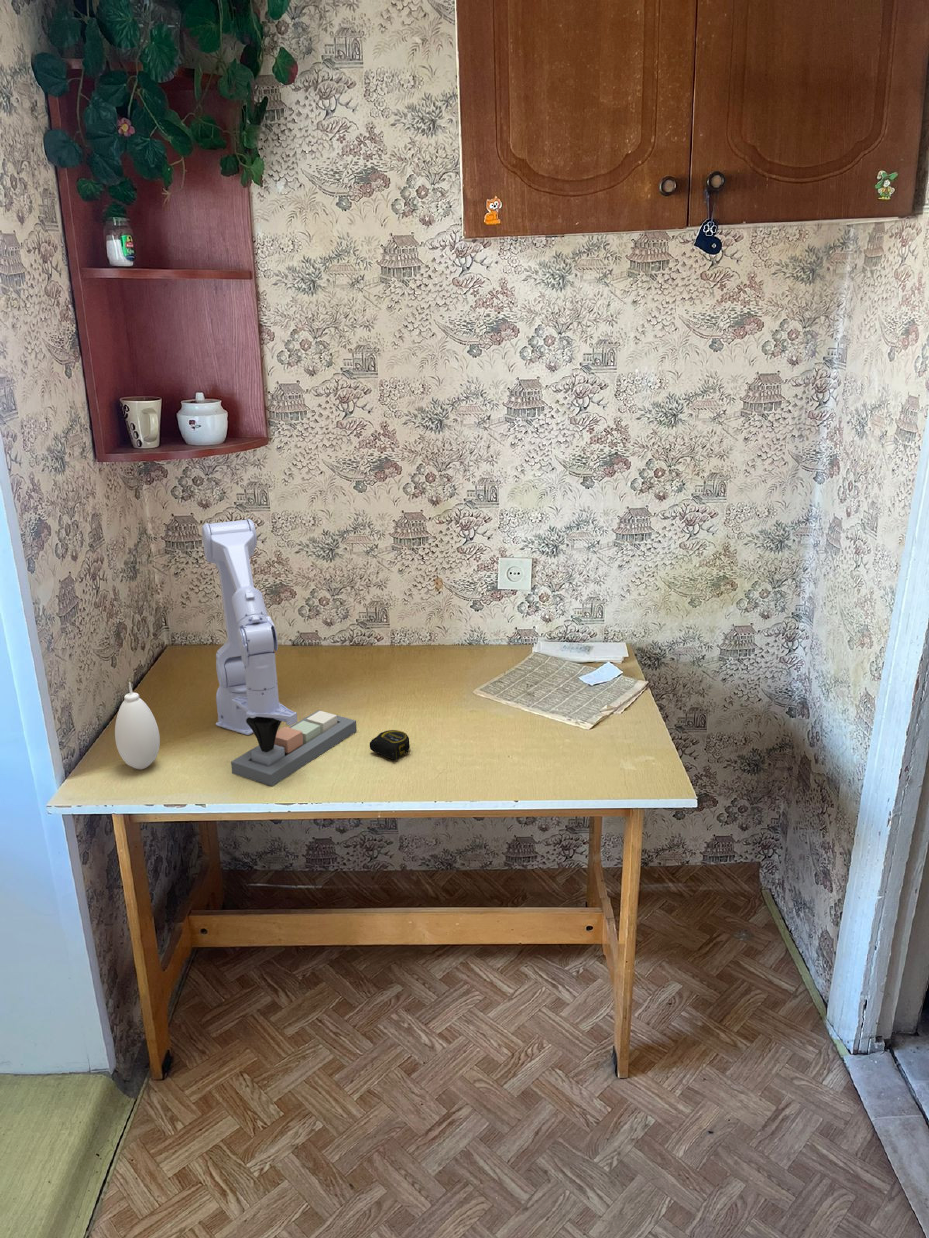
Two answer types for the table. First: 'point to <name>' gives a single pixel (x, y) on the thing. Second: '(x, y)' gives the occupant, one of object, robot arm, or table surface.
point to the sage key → (308, 730)
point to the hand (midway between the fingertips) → (267, 749)
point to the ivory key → (323, 720)
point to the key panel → (293, 754)
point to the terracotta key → (289, 739)
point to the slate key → (267, 755)
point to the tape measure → (391, 744)
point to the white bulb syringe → (136, 732)
